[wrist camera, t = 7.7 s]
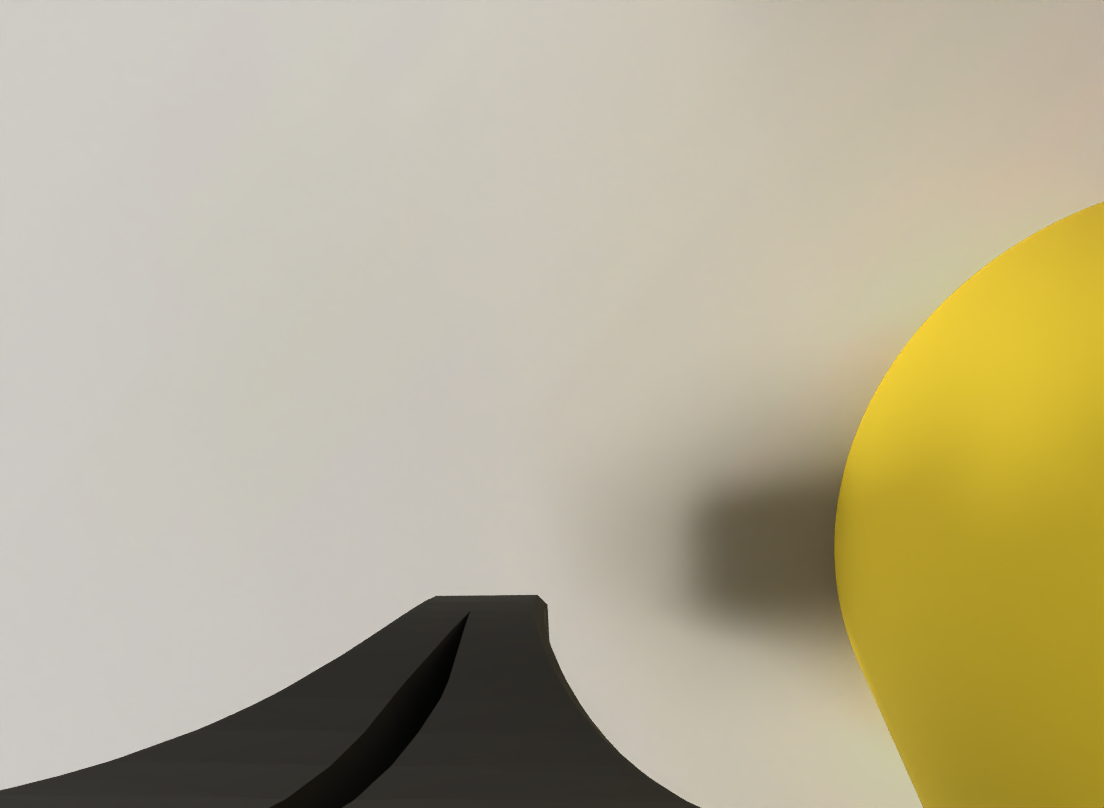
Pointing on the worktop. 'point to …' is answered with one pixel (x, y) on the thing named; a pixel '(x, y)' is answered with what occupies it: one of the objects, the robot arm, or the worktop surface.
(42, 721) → the worktop surface
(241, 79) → the worktop surface
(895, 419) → the tape roll
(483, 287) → the worktop surface
